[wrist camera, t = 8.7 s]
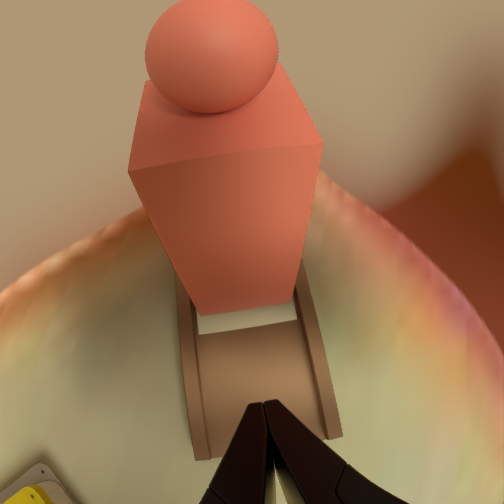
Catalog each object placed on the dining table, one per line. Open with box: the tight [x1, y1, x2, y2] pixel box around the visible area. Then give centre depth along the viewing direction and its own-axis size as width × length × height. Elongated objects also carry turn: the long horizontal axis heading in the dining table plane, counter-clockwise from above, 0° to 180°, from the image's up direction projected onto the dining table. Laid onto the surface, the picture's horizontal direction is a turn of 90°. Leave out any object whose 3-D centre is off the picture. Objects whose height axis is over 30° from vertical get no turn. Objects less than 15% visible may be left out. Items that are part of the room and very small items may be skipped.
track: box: [175, 258, 343, 461], centre depth 17 cm, size 14×8×2 cm, turn 9°
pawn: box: [128, 0, 323, 316], centre depth 12 cm, size 5×5×14 cm
